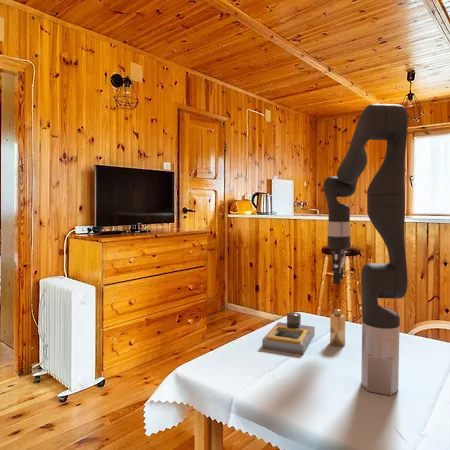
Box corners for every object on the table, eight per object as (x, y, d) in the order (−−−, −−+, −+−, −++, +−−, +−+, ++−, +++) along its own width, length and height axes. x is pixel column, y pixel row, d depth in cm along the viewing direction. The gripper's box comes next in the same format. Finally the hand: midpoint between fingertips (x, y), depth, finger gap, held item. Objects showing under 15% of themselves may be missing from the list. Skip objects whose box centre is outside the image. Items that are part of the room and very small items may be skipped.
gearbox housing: (303, 354, 119) (303, 330, 119) (262, 348, 125) (262, 325, 124) (314, 334, 137) (314, 313, 137) (278, 329, 143) (278, 309, 143)
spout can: (344, 347, 125) (344, 312, 124) (329, 345, 127) (329, 311, 126) (345, 342, 130) (346, 309, 129) (331, 340, 132) (331, 307, 131)
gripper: (348, 236, 118) (347, 286, 119) (352, 233, 131) (351, 278, 132) (324, 236, 121) (323, 284, 122) (330, 232, 134) (330, 276, 135)
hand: (338, 281), depth 127 cm, fingers open, 8 cm apart
